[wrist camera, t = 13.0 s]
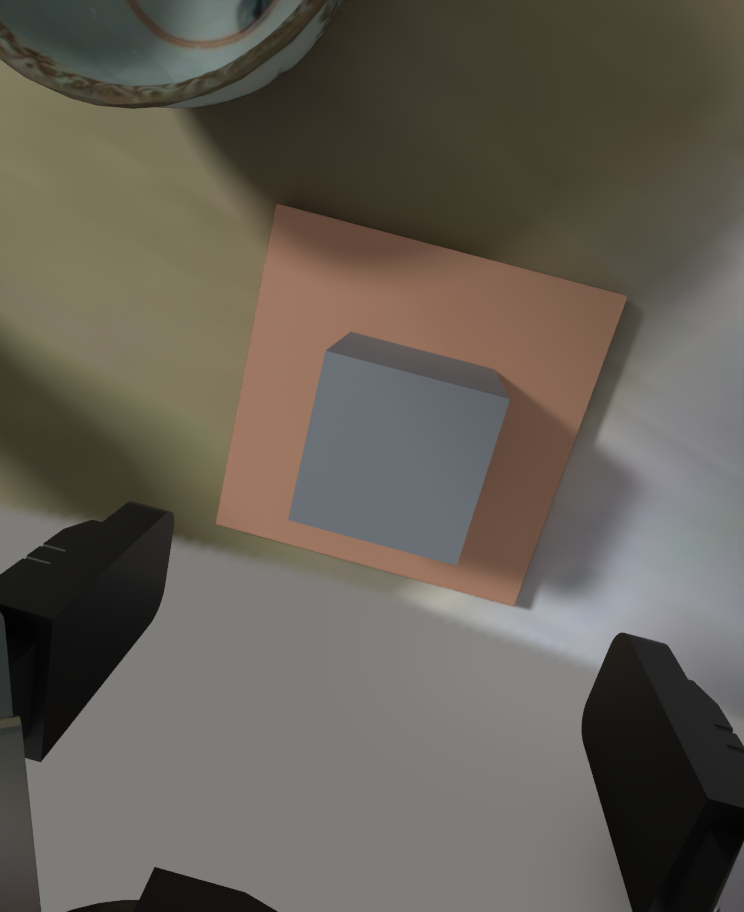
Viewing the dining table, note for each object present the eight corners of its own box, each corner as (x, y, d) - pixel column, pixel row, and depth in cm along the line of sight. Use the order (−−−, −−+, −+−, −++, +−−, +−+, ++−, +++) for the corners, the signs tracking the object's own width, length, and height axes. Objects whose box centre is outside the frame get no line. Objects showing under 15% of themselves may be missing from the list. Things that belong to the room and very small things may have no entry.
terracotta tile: (282, 205, 25) (276, 203, 25) (620, 294, 25) (627, 295, 24) (222, 515, 30) (215, 524, 29) (511, 595, 29) (513, 606, 28)
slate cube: (350, 331, 26) (325, 350, 20) (494, 369, 26) (510, 399, 20) (319, 467, 27) (287, 520, 22) (453, 502, 27) (456, 565, 22)
